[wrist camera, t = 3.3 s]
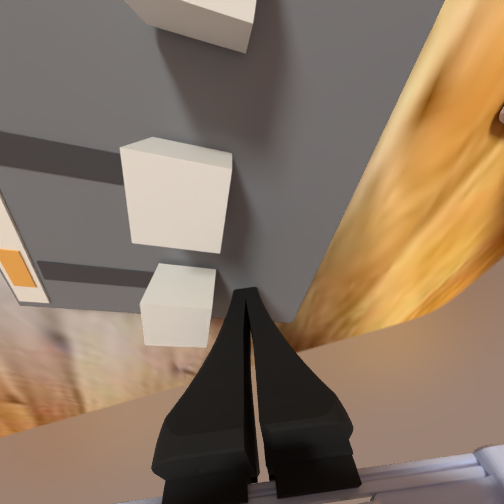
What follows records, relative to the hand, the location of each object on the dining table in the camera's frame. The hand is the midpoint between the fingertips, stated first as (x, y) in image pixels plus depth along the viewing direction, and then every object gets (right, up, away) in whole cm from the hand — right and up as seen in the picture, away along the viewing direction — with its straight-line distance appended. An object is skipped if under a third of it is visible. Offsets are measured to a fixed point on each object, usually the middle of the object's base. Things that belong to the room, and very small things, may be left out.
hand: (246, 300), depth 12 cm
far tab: (-3, +1, 0) cm, 4 cm away
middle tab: (-2, +6, -3) cm, 7 cm away
